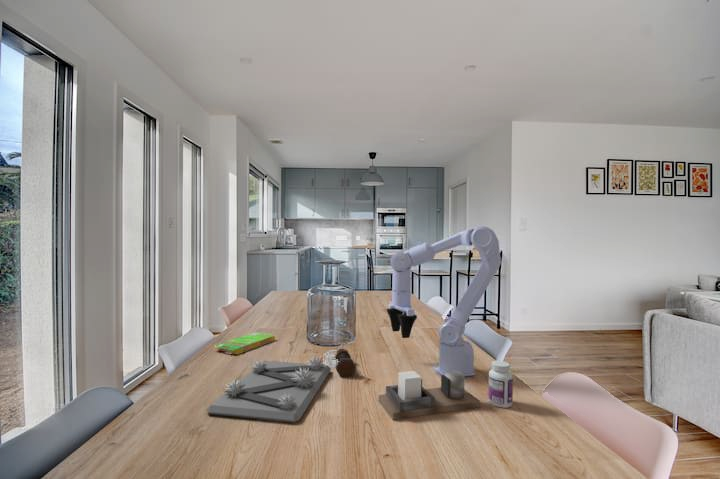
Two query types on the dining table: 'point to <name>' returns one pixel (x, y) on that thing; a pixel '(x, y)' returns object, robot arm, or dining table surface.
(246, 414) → the grey spiky zigzag board
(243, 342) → the game box
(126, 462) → the dining table surface
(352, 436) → the dining table surface
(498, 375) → the pill bottle
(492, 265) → the robot arm
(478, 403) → the brown board with socket
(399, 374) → the white block
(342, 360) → the bolt
